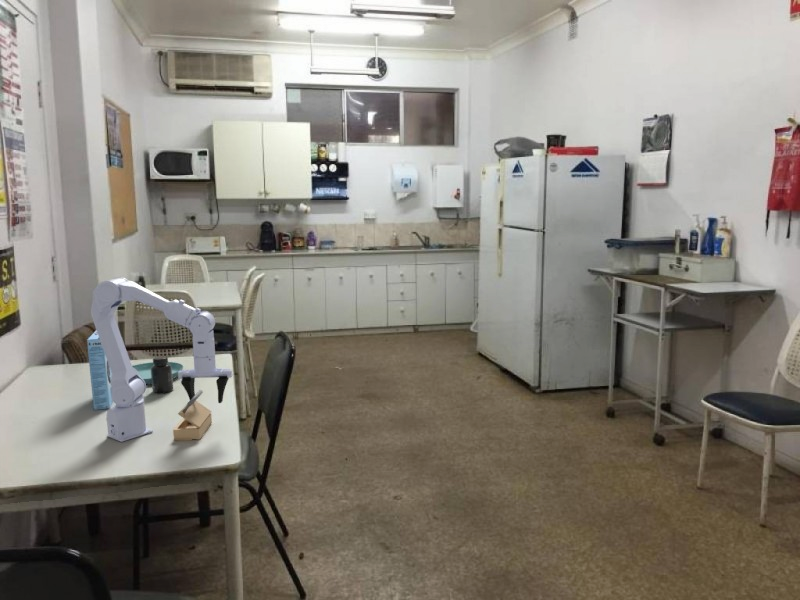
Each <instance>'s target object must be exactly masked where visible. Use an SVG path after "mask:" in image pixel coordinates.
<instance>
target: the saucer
mask: <svg viewBox="0 0 800 600" xmlns="http://www.w3.org/2000/svg"><path fill="white" fill-rule="evenodd" d="M167 364H170V365H171V368H172V378H173V379H176V378H177V377H178V372H179V371H180V370H183V369H184V365H183V364H182V363H178V362H176V361H175V362H173V361H168V363H167ZM153 365H154V364H153V361H151V362H145V363H138V364H134V365H132V367H133V368H135V369H136V370H137V371H138V373H139V375H140V377H141V378H142V379H143V380H144V381H145V383H146V384H149V385H152V379H151V367H152V366H153Z"/></svg>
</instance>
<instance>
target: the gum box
mask: <svg viewBox="0 0 800 600" xmlns="http://www.w3.org/2000/svg"><path fill="white" fill-rule="evenodd" d="M86 345H87V355H88V363H89V365H88V366H89V374H90V375H89V376H90V382H91V383H90V384H91V386H90V387H91V393H92V404H93V405H92V406H93V410H94V411H95V410H96V411H97V410H106V409H107V410H109V409H111V406H112V405H113V403H114V402H113V400H112V397H111V393H112V387H111V384H110V382H111V378H112V372H111V369H110V366H109V363H108V361H107V358H106V355H105V352H104V350H103V347H102V344H101V341H100V338H99V336H98V333H97V330H96V329H95V331H94V332H93V333H92V334H91V335H89V337H88V339H86Z"/></svg>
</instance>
